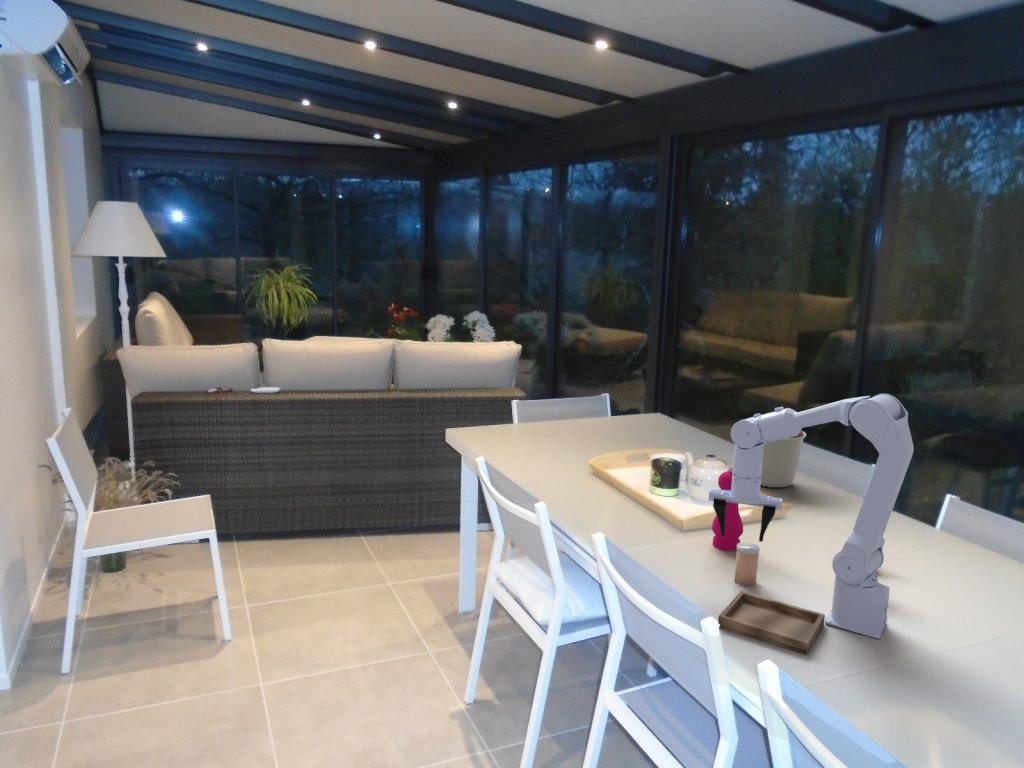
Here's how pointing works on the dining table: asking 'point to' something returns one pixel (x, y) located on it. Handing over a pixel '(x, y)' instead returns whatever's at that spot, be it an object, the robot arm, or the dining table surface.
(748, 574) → the terracotta shaker
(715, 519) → the pepper mill
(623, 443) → the dining table surface
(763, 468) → the canister
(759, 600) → the walnut tray
